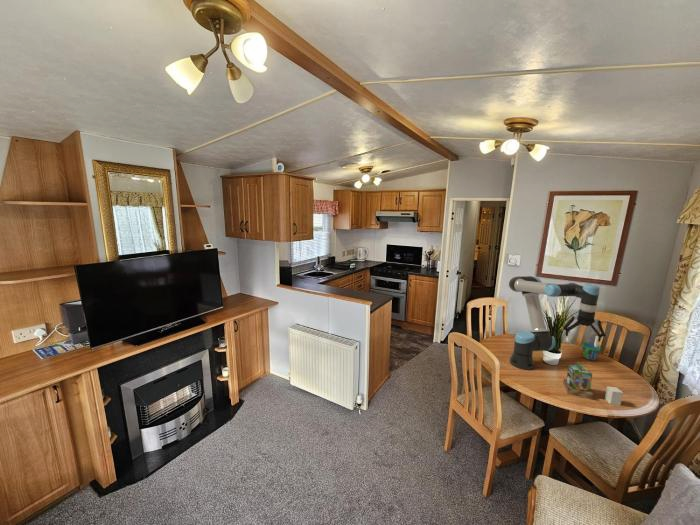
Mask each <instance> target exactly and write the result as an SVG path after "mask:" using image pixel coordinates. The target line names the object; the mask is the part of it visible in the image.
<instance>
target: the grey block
mask: <svg viewBox="0 0 700 525" xmlns="http://www.w3.org/2000/svg"><path fill="white" fill-rule="evenodd" d="M605 388H606V389H605V396H604V400H605V401H606V402H608V403H609V405H613V406H614V405H615V406H621V404H622V400H623V399H622V398H623V394H624V392H623V391H622V390H620V389H619V388H618V387H614V386H606V387H605Z"/></svg>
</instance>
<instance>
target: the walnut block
mask: <svg viewBox="0 0 700 525" xmlns="http://www.w3.org/2000/svg"><path fill="white" fill-rule="evenodd" d="M566 379H567V378H563V383H562V384H563V386H564V389H565V392H566V394H567V395H571V396H575V397H579V398H583V399H588V400H593V398H594V393H593V391H592V389H591V388H590V391H584V390H577V389H572V388H571V387H570V385H569V384H568V383H567V381H566Z"/></svg>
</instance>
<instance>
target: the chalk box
mask: <svg viewBox="0 0 700 525" xmlns="http://www.w3.org/2000/svg"><path fill="white" fill-rule="evenodd" d="M576 363H577V365H576V364H568V366H567V372H566V373H567V374H566V378H565V379H566V381H567V383H568V384H569V385H570V387H571V388H572V389H577V390H584V391H590V389H591V385H592V379H593V373H592V372H591V370H589V369H588V368H587V367H586V366H582V365H581V364H580V362H578V361H577V362H576Z"/></svg>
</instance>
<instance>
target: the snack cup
mask: <svg viewBox="0 0 700 525" xmlns="http://www.w3.org/2000/svg"><path fill="white" fill-rule="evenodd" d="M581 346H582V357H583V358H584V359H585V360H588V361H593V362H594V361H596V359H597V358H598V355H599V353H600V351H601V347H600V346H599V345H597V347H595V346H594V343H590V342H583V343H581Z"/></svg>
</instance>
